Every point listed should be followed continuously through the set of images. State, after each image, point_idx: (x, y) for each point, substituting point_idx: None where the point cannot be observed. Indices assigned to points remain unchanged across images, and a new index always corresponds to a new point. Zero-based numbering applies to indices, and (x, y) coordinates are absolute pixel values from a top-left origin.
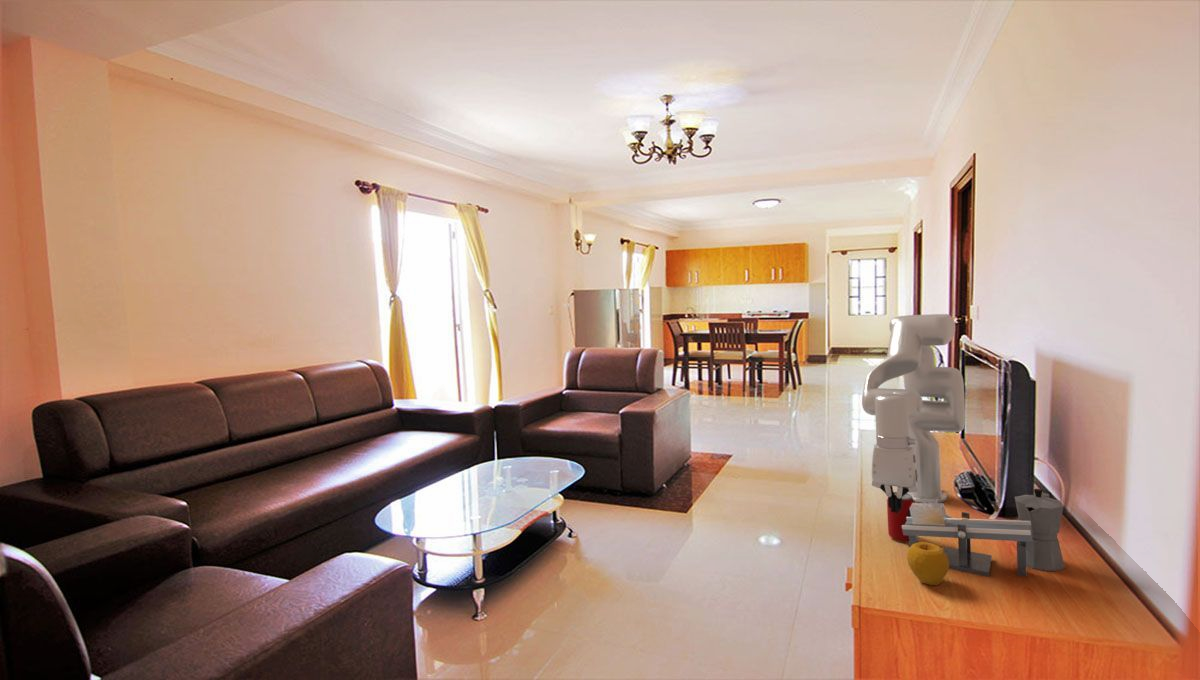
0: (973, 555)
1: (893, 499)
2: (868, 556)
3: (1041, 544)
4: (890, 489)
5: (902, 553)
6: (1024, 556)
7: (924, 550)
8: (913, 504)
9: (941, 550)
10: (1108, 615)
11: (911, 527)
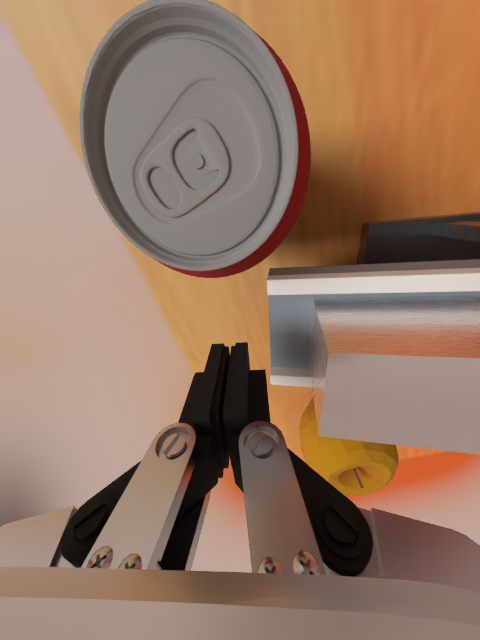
0: (454, 246)
1: (228, 463)
2: (199, 362)
3: None
4: (193, 551)
5: (258, 309)
6: None
7: (352, 493)
8: (337, 384)
9: (393, 474)
10: None
11: (305, 384)
